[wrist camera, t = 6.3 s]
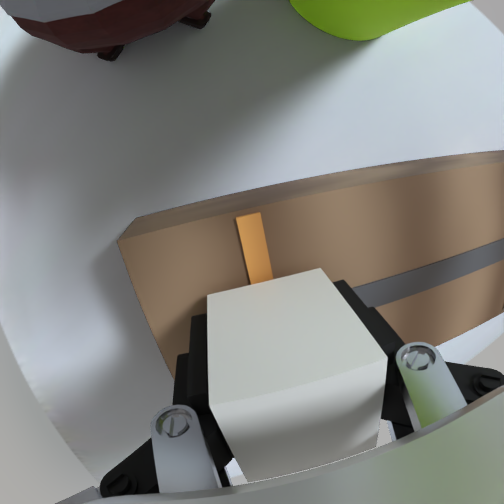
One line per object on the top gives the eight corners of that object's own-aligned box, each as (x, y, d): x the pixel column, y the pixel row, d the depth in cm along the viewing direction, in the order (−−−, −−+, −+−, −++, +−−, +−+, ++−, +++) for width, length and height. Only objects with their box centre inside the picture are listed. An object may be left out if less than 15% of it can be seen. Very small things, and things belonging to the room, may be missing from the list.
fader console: (521, 148, 14) (585, 164, 9) (513, 272, 17) (563, 305, 12) (135, 218, 13) (93, 271, 8) (193, 375, 16) (193, 458, 11)
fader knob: (320, 267, 11) (387, 357, 6) (328, 353, 12) (375, 446, 8) (207, 294, 11) (209, 405, 6) (233, 377, 12) (247, 482, 8)
